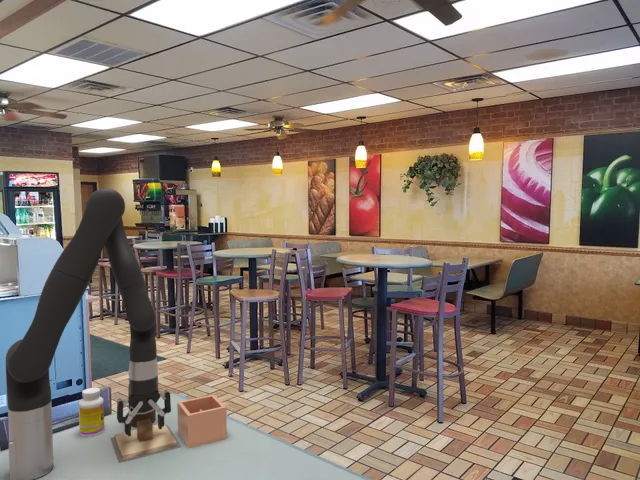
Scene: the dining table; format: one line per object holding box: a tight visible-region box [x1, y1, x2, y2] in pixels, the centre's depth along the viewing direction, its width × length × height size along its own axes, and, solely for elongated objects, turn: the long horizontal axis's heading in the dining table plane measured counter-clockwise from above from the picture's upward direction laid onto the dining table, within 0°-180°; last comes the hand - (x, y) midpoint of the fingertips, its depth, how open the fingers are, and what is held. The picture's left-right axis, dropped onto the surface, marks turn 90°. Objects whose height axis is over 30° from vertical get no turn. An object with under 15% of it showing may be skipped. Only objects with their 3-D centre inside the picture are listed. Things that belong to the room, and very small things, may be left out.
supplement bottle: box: [78, 387, 105, 438], centre depth 138 cm, size 7×7×13 cm
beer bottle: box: [127, 388, 157, 428], centre depth 144 cm, size 8×8×24 cm
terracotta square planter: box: [176, 394, 228, 449], centre depth 136 cm, size 11×11×10 cm
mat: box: [110, 424, 182, 464], centre depth 132 cm, size 16×16×1 cm
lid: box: [113, 419, 177, 460], centre depth 132 cm, size 14×14×6 cm
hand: (144, 431), depth 132 cm, fingers open, 8 cm apart
